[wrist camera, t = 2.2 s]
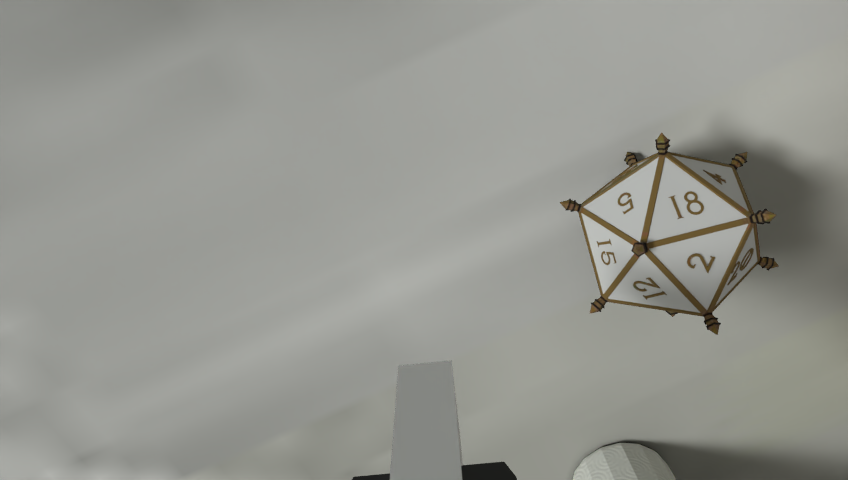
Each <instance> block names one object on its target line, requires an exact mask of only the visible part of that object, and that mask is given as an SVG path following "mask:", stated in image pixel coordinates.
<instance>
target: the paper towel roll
mask: <svg viewBox="0 0 848 480" xmlns="http://www.w3.org/2000/svg"><path fill="white" fill-rule="evenodd" d="M573 480H676V478H675V477H674V475H673V473H672V471H671V470H670V468H669V466H668V465H667V463H666V462H665V461H664V460H663V459H662V458H661V457H660V456H659V454H658V453H657V452H655V451H654V450H652V449H649V448H647V447H645V446H642V445H640V444H632V443H617V444H613V445H609V446H605V447H601V448H599V449H598V450H596V451H595V452H593V453H592V454H590V455H588V456H587V457H585V458H584V460H583V461H582V462H581V464H580V465H579V466H578V468H577V469H576V470H575V472H574V476H573Z"/></svg>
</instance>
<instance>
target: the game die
mask: <svg viewBox="0 0 848 480" xmlns="http://www.w3.org/2000/svg"><path fill="white" fill-rule="evenodd" d="M655 141H656V148H657V150H658V151H659V152H658V153H656V154H654V155H652V156H650V157H648V158H645V159H643V160H641V161H639V162H637V159H636V157H635V155H634V154H631V153H629V152H627V155H626V158H625V160H624V161H626V162H627V163H626V164H627V165H629V166H630V167H629V168H627V169H626V170H625V171H623V172H622V173H621V174H619V175H618V176H617V177H616V178H614V179H613V180H612V181H610V182H609V183H608V184H606V185H605V186H604V187H603V188H601V189H600V190H599V191H597V192H596V193H595V194H594V195H592V196H591V197H590V198H588V199H587V200H586V201H584V202H583V203H582V204H578V203H576V201H575V200H574V201H572V200H571V199H569V200H567V201H563V202H560V203H561V204H562V205H563V207H564V208H565V209H566V210H571V212H572V211H578V213H579V217H580V220H581V224H582V228H583V231H584V235H585V239H586V242H587V246H588V250H589V253H590V257H591V261H592V264H593V268H594V272H595V275H596V279H597V283H598V286H599V290H600V294H601V297H600V298H599V299H597V300H596V299H595V301H594V302H593V303H591V304H592V305H591V310H590V313H594V312H598V311H600V312H601V309H602V308H604V305H605V303H606V302H613V303H619V304H626V305H632V306H639V307H645V308H652V309H658V310H665V311H666V312H667V313H668V314H670V315H671V316H672V317H673V316H674V315H675V314H677V313H684V314H691V315H697V316H704V318H705V321H704V322H705V325H706V324H707V326H706V327H707V330H710V331H712V332H713V333H715V334H716V335H718V330H719V325H720V324H721V323H718V321H717V319H718V318H715V317H714V316H713V315H712V312H713V311H714V310H715V309H716V308H717V307H718V306H719V305H720V303H721V302H722V301H723V300H724V299H725V298H726V297H727V296H728V295H729V294H730V293H731V292H732V291H733V290H734V288H735V287H736V286H737V285H738V284H739V283H740V282H741V281H742V280H743V279H744V278H745V277H746V276H747V275H748V273H749V272H750V271H751V270H752V269H753V268H754V267H755V266H756V265H757V264H759V265H760V266H761V267H762V268H767V270H769V269H771V268H774V267H778V264H777V263H776V262H775V261H774V258H769V257H763V258H762V257H760V250H759V242H758V233H757V225H756V223H758V224H764V223H770V221H771V220H772V219H773V218H774V217H775V216H776V214H774V213H771V212H769V211H768V210H767V209H764V210H763V211H760V210H759V211H758V212H757V213H756V214H754V212H753V210H752V208H751V205H750V203H749V200H748V198H747V195H746V193H745V190H744V188H743V186H742V183H741V181H740V178H739V176H738V173H737V171H736V169H737V168H738V167H741V166H743V165H742V164H744V163H746V162H747V161H746V158H747V152H746V153H742V154H736V155H735V157H734V158H732V162H731V164H729V165H728V164H724V163H719V162H714V161H709V160H704V159H700V158H695V157H690V156H685V155H681V154H676V153H671V152H668V151H667V150H668V147H670V145H669V141H670V140H669V139H667V138H666V137H665V136H664V135H663V133H661V134H660V136H659V137H658V139H657V140H655Z"/></svg>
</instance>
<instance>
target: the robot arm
mask: <svg viewBox="0 0 848 480" xmlns="http://www.w3.org/2000/svg"><path fill="white" fill-rule="evenodd" d="M352 480H517V478H516V476H515V475H514V474H513V472H512V471H511V470H510V469H509V467H508V466H507V465H506V464H505V462H496V463H485V464H474V465H463V463H462V452H461V442H460V432H459V423H458V414H457V405H456V396H455V387H454V378H453V369H452V360H451V361H441V362H430V363H420V364H410V365H400V366H398V377H397V390H396V403H395V416H394V430H393V443H392V456H391V469H390V474H380V475H369V476H358V477H353V479H352Z"/></svg>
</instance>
